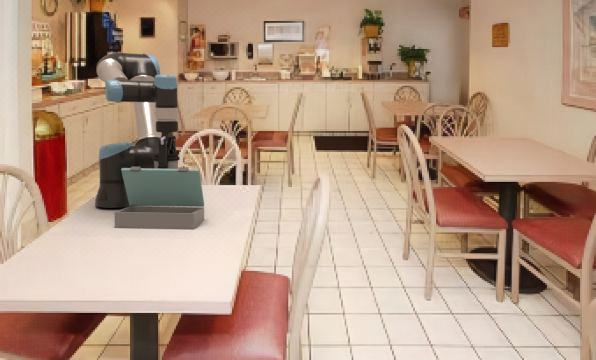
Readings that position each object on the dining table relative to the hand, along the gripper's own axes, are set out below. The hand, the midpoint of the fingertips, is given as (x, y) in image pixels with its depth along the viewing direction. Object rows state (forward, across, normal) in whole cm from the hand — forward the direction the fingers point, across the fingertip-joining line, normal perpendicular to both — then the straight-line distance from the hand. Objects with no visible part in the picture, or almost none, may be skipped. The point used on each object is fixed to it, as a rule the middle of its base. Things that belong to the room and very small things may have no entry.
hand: (168, 186), depth 215 cm
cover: (+6, +2, 0) cm, 7 cm away
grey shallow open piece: (+12, +10, 0) cm, 15 cm away
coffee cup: (+4, 0, -1) cm, 4 cm away
